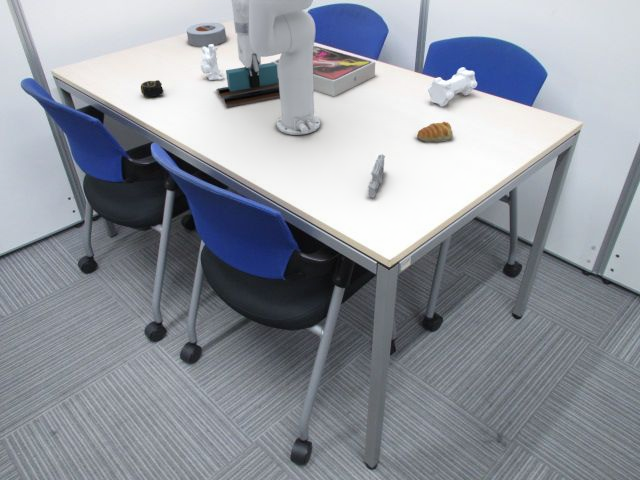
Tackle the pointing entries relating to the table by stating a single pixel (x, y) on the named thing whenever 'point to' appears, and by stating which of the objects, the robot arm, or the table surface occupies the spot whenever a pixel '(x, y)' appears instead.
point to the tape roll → (206, 34)
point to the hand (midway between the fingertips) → (253, 84)
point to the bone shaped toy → (452, 86)
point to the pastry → (436, 132)
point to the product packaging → (338, 71)
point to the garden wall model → (376, 175)
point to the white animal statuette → (210, 62)
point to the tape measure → (151, 88)
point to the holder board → (248, 95)
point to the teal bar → (240, 76)
